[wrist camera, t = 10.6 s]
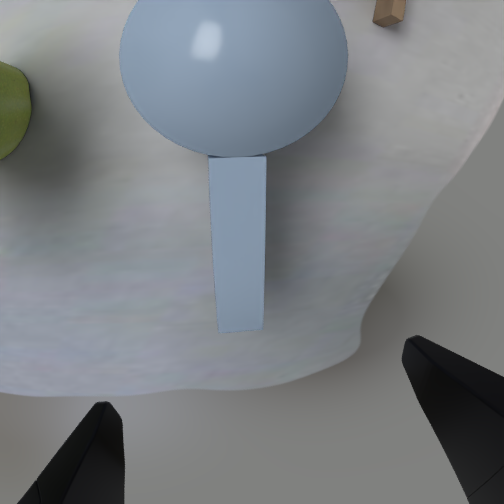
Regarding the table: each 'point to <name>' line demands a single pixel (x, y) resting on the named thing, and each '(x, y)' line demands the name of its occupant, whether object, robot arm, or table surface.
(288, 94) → the blue scoop
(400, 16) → the holder
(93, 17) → the table surface
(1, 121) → the plant pot
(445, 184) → the table surface
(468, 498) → the robot arm
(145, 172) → the table surface
